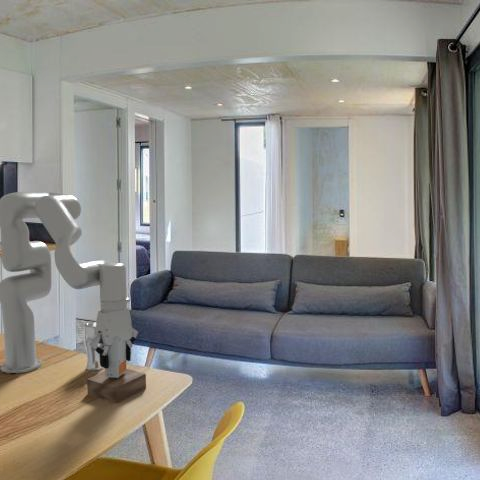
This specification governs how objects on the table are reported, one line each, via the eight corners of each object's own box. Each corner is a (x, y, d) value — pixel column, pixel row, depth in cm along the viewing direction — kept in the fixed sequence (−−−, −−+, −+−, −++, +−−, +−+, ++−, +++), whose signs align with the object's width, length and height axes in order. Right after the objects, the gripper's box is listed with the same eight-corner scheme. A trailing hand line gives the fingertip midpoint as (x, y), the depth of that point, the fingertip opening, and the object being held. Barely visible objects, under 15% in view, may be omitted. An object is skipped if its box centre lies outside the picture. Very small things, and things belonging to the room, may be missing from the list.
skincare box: (118, 378, 141) (117, 338, 139) (104, 377, 142) (103, 337, 140) (127, 370, 147) (126, 332, 145) (114, 369, 148) (113, 331, 146)
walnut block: (87, 395, 143) (87, 379, 142) (117, 381, 153) (117, 366, 152) (116, 404, 136) (115, 387, 136) (146, 389, 146) (145, 373, 146)
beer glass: (94, 372, 159) (93, 328, 158) (80, 368, 163) (78, 325, 161) (110, 366, 165) (109, 323, 164) (96, 362, 169) (95, 320, 167)
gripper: (130, 297, 151) (131, 353, 153) (80, 308, 138) (82, 369, 140) (145, 301, 146) (147, 358, 148) (95, 313, 133) (97, 375, 135)
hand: (115, 363), depth 144 cm, fingers closed on skincare box, 7 cm apart
